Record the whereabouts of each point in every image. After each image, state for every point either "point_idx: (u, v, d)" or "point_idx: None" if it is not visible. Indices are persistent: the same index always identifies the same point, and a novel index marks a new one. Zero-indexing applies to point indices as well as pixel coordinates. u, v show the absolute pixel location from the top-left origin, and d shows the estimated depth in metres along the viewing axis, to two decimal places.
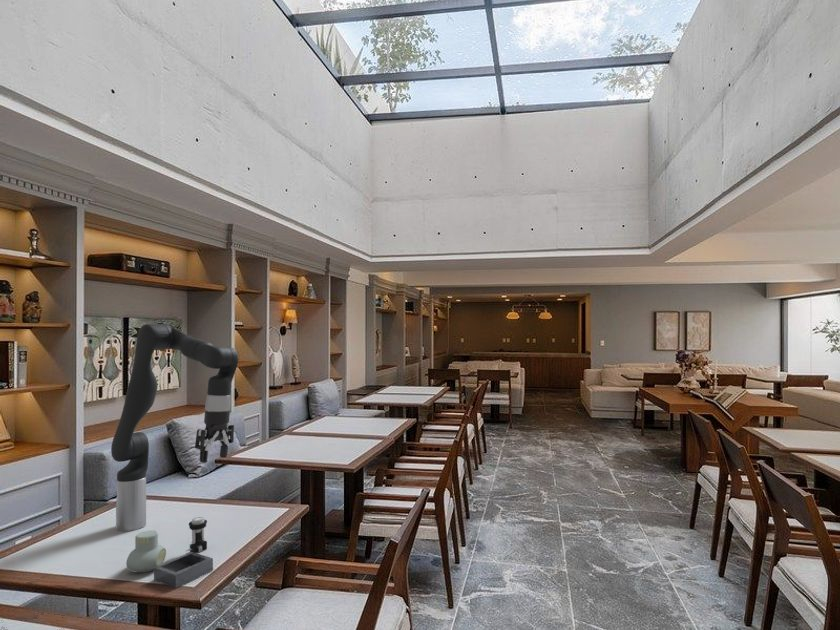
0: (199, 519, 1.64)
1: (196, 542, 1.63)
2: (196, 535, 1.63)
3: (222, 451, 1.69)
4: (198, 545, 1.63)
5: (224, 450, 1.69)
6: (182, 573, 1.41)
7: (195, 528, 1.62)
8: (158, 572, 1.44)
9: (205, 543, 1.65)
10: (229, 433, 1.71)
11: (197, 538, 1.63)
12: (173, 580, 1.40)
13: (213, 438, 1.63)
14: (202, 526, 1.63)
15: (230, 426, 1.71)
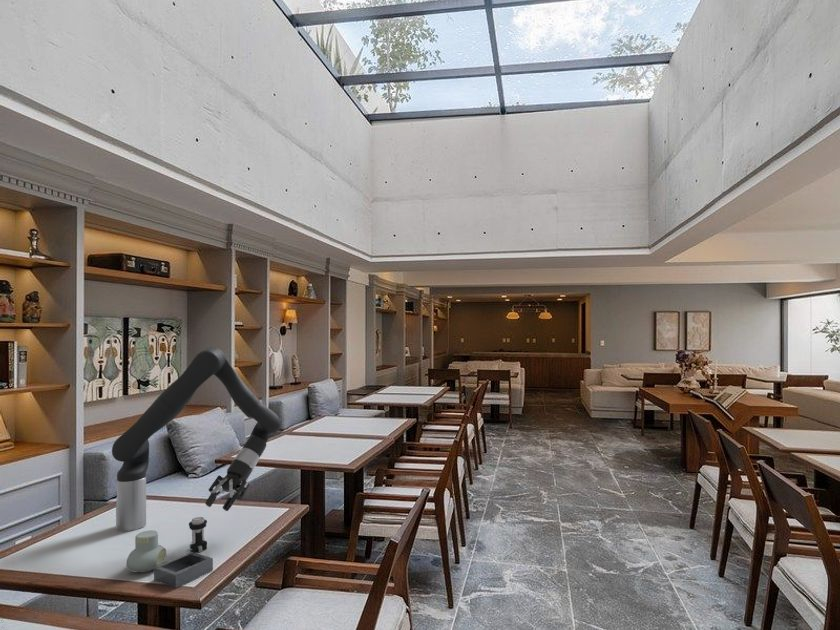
0: (199, 519, 1.64)
1: (196, 542, 1.63)
2: (196, 535, 1.63)
3: (211, 500, 1.73)
4: (198, 545, 1.63)
5: (213, 500, 1.74)
6: (182, 573, 1.41)
7: (195, 528, 1.62)
8: (158, 572, 1.44)
9: (205, 543, 1.65)
10: None
11: (197, 538, 1.63)
12: (173, 580, 1.40)
13: None
14: (202, 526, 1.63)
15: (223, 479, 1.80)
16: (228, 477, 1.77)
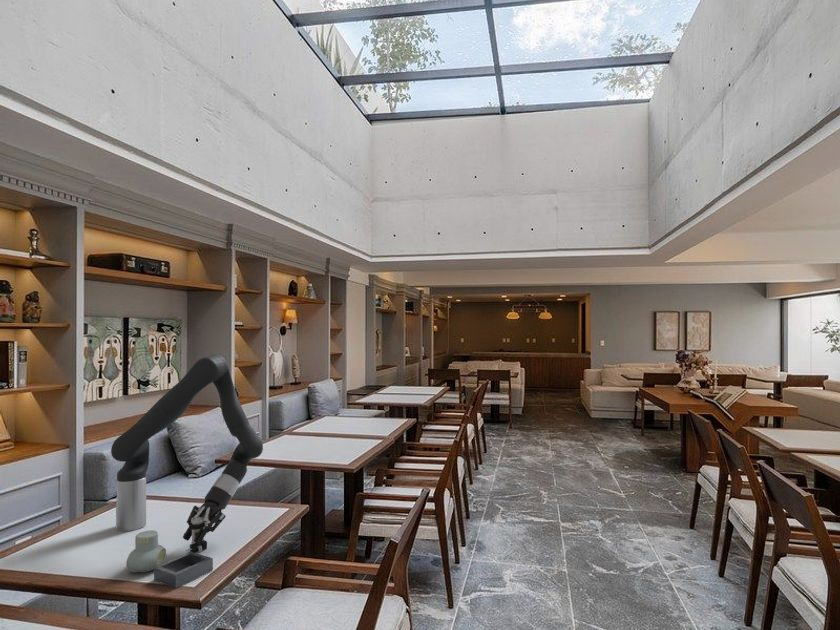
0: (199, 519, 1.64)
1: None
2: None
3: (189, 533, 1.64)
4: (198, 545, 1.63)
5: (191, 533, 1.65)
6: (182, 573, 1.41)
7: (195, 528, 1.62)
8: (158, 572, 1.44)
9: (205, 543, 1.65)
10: None
11: None
12: (173, 580, 1.40)
13: None
14: None
15: (199, 509, 1.71)
16: (206, 505, 1.69)
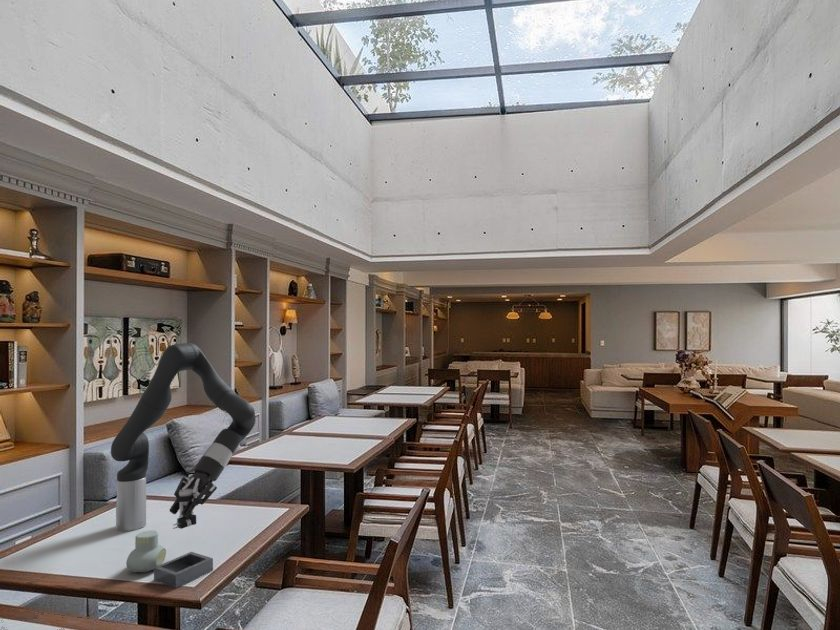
0: (187, 490, 1.48)
1: None
2: None
3: (177, 506, 1.49)
4: (186, 519, 1.47)
5: (179, 506, 1.49)
6: (182, 573, 1.41)
7: (183, 500, 1.46)
8: (158, 572, 1.44)
9: (194, 517, 1.49)
10: None
11: None
12: (173, 580, 1.40)
13: None
14: None
15: None
16: (195, 476, 1.53)
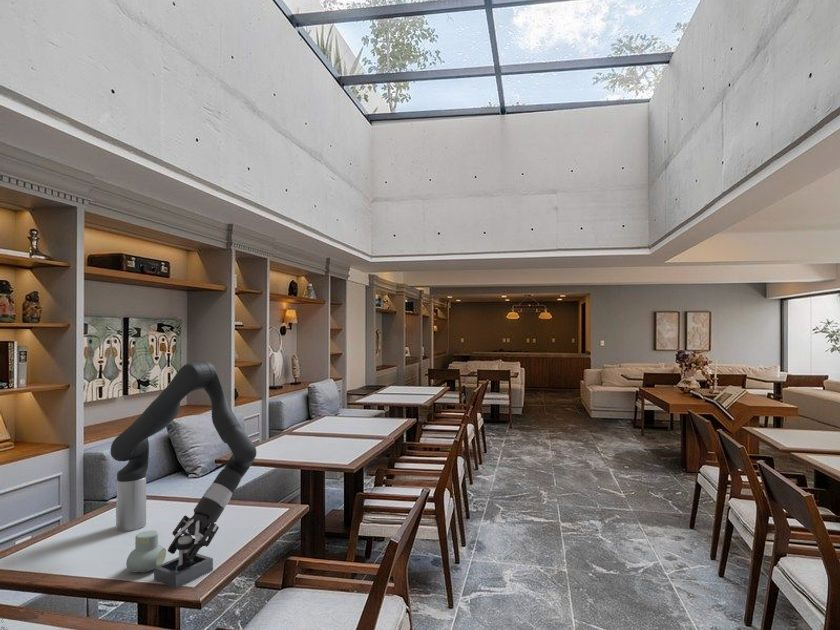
0: (187, 538, 1.48)
1: (183, 563, 1.47)
2: (183, 556, 1.48)
3: (175, 546, 1.49)
4: (185, 567, 1.47)
5: None
6: (182, 573, 1.41)
7: (182, 548, 1.46)
8: (158, 572, 1.44)
9: (193, 564, 1.49)
10: None
11: (185, 559, 1.47)
12: (173, 580, 1.40)
13: None
14: (190, 546, 1.47)
15: None
16: (195, 518, 1.53)
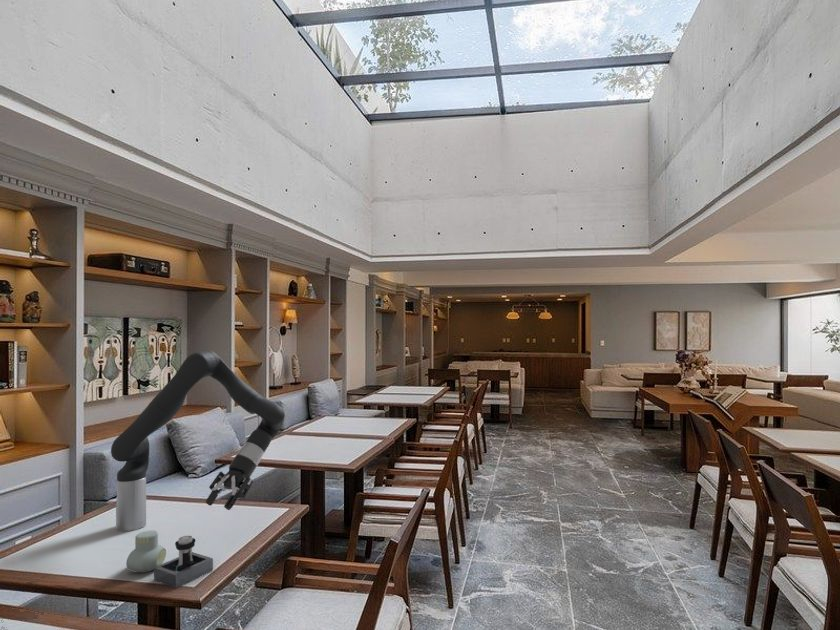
0: (187, 538, 1.48)
1: (183, 563, 1.47)
2: (183, 556, 1.48)
3: (212, 498, 1.61)
4: (185, 567, 1.47)
5: (214, 498, 1.61)
6: (182, 573, 1.41)
7: (182, 548, 1.46)
8: (158, 572, 1.44)
9: (193, 564, 1.49)
10: (220, 482, 1.66)
11: (185, 559, 1.47)
12: (173, 580, 1.40)
13: None
14: (190, 546, 1.47)
15: None
16: (230, 473, 1.64)
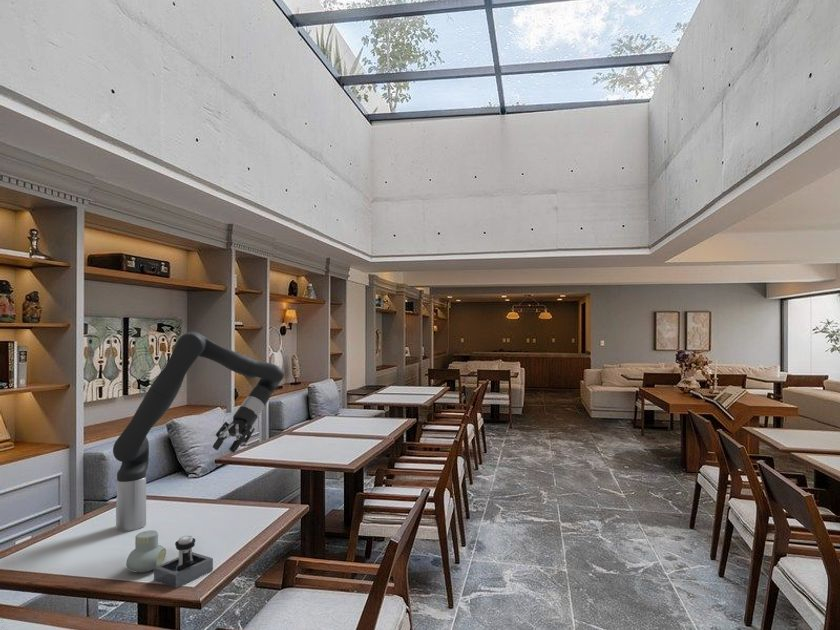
0: (187, 538, 1.48)
1: (183, 563, 1.47)
2: (183, 556, 1.48)
3: (218, 444, 1.81)
4: (185, 567, 1.47)
5: (220, 444, 1.82)
6: (182, 573, 1.41)
7: (182, 548, 1.46)
8: (158, 572, 1.44)
9: (193, 564, 1.49)
10: None
11: (185, 559, 1.47)
12: (173, 580, 1.40)
13: None
14: (190, 546, 1.47)
15: None
16: (234, 423, 1.85)
